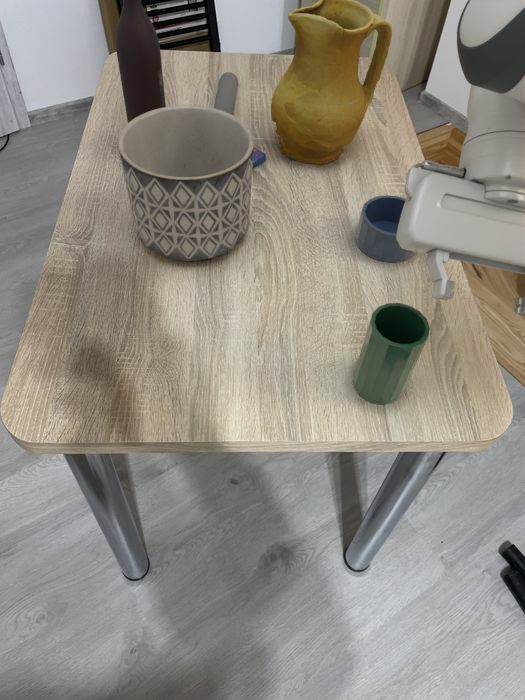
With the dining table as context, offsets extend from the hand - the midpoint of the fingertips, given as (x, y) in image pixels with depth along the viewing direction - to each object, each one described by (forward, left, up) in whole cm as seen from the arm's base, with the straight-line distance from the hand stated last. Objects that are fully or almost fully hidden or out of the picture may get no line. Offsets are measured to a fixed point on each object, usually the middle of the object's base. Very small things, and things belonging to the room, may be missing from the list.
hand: (484, 306), depth 56 cm
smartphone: (+43, -40, -18) cm, 62 cm away
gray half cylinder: (+52, -63, -19) cm, 84 cm away
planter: (+42, -21, -19) cm, 51 cm away
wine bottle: (+58, -39, -19) cm, 72 cm away
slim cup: (+7, -1, -18) cm, 20 cm away
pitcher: (+29, -53, -19) cm, 63 cm away
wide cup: (+11, -30, -18) cm, 37 cm away
